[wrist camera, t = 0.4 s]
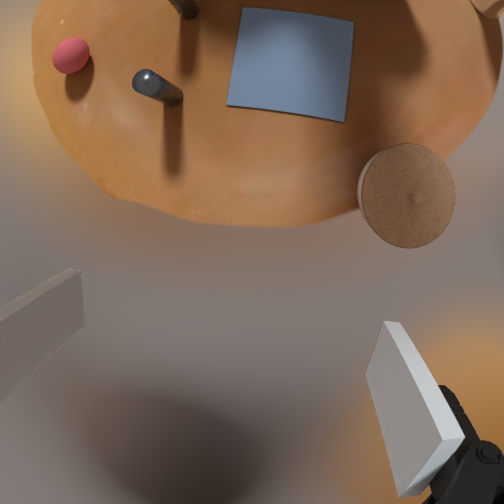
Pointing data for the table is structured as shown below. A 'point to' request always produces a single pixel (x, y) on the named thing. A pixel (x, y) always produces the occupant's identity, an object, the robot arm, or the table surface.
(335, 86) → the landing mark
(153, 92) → the post
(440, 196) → the lidded jar
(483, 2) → the beer glass
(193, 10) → the post
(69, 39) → the ball
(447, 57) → the table surface
